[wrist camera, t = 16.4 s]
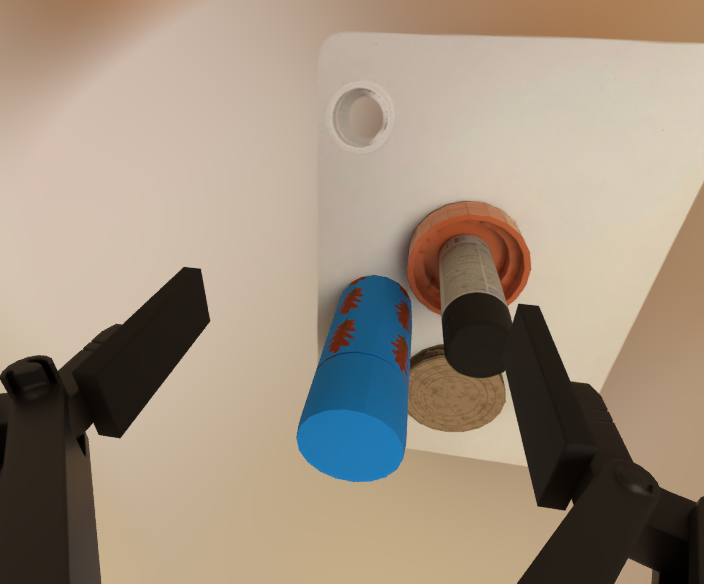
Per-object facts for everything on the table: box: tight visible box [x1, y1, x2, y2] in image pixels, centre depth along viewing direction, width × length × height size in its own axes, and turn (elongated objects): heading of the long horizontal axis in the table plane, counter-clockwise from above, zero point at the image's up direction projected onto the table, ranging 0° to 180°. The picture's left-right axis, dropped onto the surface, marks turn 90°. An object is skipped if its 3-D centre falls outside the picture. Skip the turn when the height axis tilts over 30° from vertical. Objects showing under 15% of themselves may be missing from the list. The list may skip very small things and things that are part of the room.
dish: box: [407, 201, 531, 315], centre depth 52 cm, size 14×14×5 cm
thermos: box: [297, 275, 412, 482], centre depth 50 cm, size 11×11×25 cm
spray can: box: [439, 234, 512, 378], centre depth 45 cm, size 7×7×20 cm
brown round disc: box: [408, 345, 505, 432], centre depth 65 cm, size 16×16×3 cm
